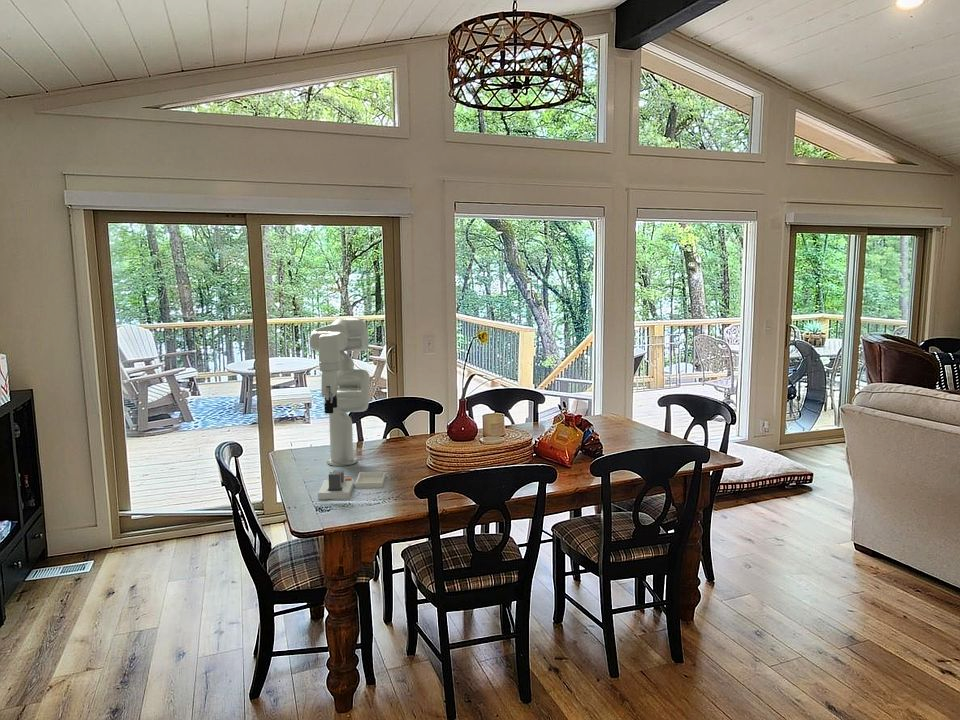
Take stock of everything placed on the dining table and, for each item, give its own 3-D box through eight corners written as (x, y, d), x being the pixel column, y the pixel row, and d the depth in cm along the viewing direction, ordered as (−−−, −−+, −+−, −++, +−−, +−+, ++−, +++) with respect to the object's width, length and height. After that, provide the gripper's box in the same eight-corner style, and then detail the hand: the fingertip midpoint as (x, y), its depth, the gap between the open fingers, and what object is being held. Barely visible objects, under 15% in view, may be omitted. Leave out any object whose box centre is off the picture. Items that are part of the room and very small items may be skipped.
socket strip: (325, 486, 253) (324, 469, 252) (354, 486, 254) (353, 468, 253) (318, 501, 238) (317, 482, 237) (349, 500, 239) (348, 481, 238)
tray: (359, 478, 264) (359, 472, 263) (385, 477, 264) (385, 471, 264) (355, 489, 251) (355, 483, 250) (382, 489, 251) (382, 482, 251)
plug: (330, 495, 244) (329, 471, 243) (341, 495, 244) (340, 471, 243) (329, 498, 241) (328, 474, 240) (340, 498, 241) (339, 474, 240)
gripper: (323, 363, 262) (324, 405, 264) (315, 370, 245) (317, 415, 247) (342, 363, 262) (343, 405, 265) (336, 370, 245) (337, 415, 248)
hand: (331, 410), depth 256 cm, fingers open, 9 cm apart
